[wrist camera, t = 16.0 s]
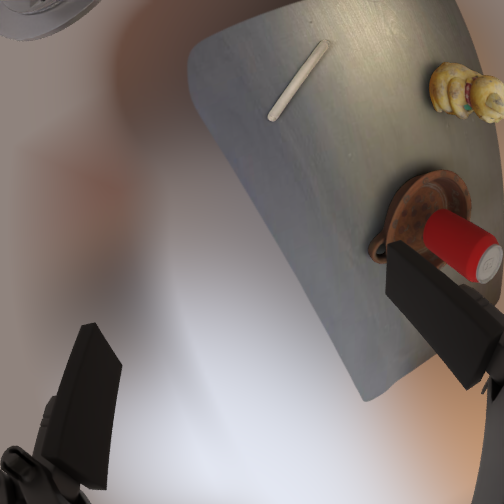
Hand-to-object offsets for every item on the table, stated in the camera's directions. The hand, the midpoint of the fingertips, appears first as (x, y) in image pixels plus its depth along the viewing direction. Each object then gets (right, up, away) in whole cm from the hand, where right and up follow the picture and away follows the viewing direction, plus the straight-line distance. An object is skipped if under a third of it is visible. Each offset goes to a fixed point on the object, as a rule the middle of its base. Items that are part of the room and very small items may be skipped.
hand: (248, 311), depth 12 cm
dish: (+27, +8, +31) cm, 42 cm away
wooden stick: (+6, +23, +20) cm, 31 cm away
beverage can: (+27, +6, +27) cm, 39 cm away
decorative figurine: (+29, +28, +22) cm, 46 cm away
